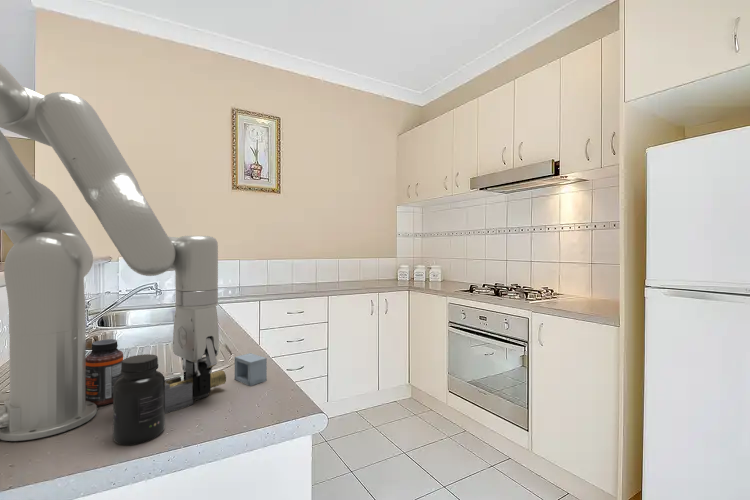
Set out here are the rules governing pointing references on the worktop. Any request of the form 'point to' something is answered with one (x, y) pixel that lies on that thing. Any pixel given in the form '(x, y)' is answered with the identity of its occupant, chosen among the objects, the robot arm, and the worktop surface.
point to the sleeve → (177, 394)
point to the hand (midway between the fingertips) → (197, 391)
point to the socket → (250, 369)
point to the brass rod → (216, 377)
